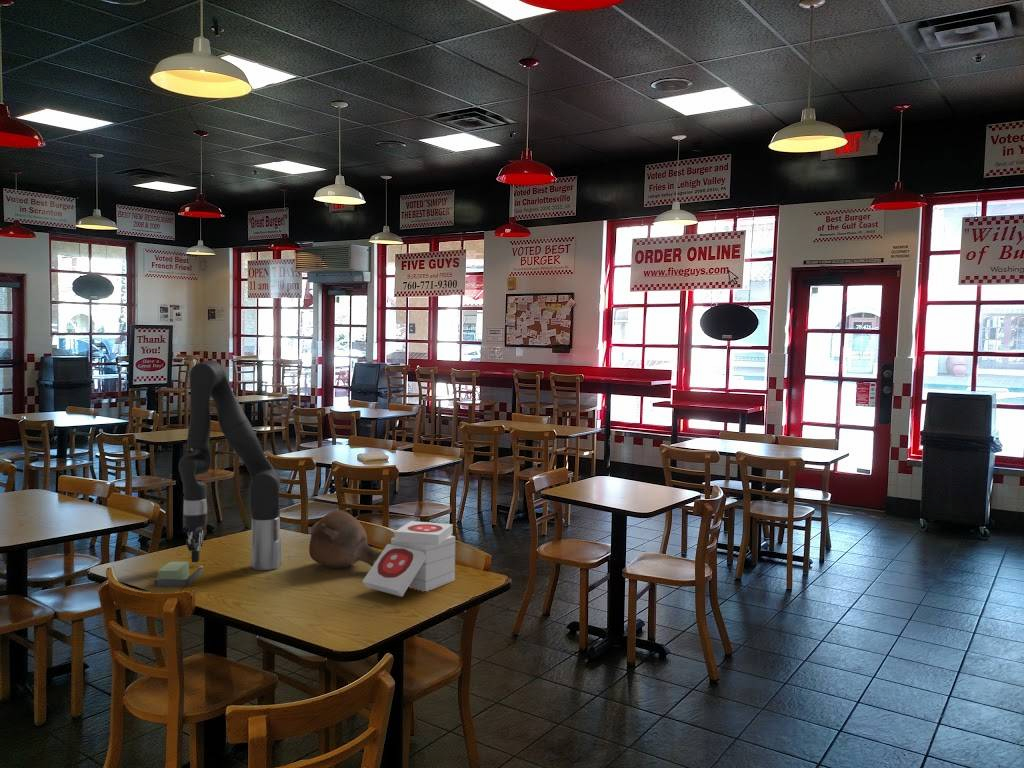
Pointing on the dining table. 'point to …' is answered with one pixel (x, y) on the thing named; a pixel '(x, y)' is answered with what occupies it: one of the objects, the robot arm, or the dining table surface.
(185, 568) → the pale green block
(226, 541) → the dining table surface
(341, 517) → the jug
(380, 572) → the pizza boxes
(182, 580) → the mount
